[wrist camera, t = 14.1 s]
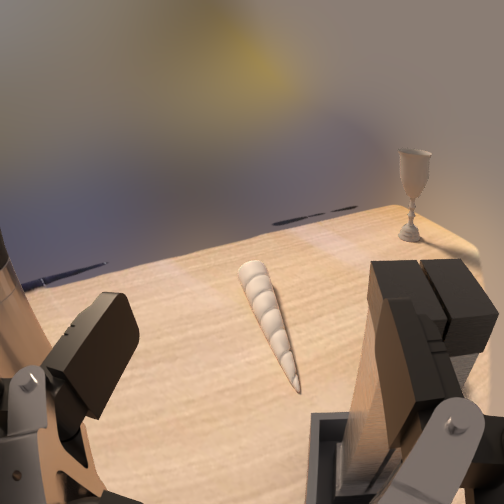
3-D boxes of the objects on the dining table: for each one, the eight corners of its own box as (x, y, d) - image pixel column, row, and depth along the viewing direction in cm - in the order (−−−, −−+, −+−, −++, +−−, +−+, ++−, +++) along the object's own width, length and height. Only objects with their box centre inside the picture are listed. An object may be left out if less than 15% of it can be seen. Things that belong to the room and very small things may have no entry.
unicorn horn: (264, 402, 31) (261, 374, 29) (239, 286, 52) (235, 260, 50) (307, 393, 31) (309, 364, 29) (267, 281, 52) (265, 255, 50)
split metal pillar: (390, 501, 17) (507, 319, 8) (331, 506, 18) (386, 331, 9) (387, 453, 22) (460, 254, 13) (333, 457, 23) (365, 256, 14)
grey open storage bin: (413, 517, 16) (434, 501, 14) (302, 527, 17) (304, 515, 15) (403, 433, 24) (418, 405, 22) (309, 439, 26) (311, 412, 23)
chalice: (431, 239, 58) (439, 154, 50) (410, 247, 57) (417, 156, 48) (408, 227, 65) (412, 147, 56) (386, 233, 63) (390, 149, 55)
